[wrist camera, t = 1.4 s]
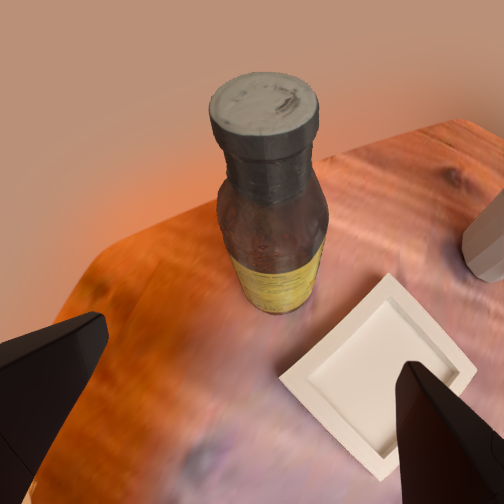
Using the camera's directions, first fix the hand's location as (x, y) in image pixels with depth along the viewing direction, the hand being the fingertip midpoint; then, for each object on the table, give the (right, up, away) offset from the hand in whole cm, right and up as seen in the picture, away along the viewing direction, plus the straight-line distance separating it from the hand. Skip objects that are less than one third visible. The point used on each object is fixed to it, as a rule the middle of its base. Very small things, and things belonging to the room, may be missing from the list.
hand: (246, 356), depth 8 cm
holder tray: (+11, -8, +16) cm, 21 cm away
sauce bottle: (+2, 0, +20) cm, 20 cm away
